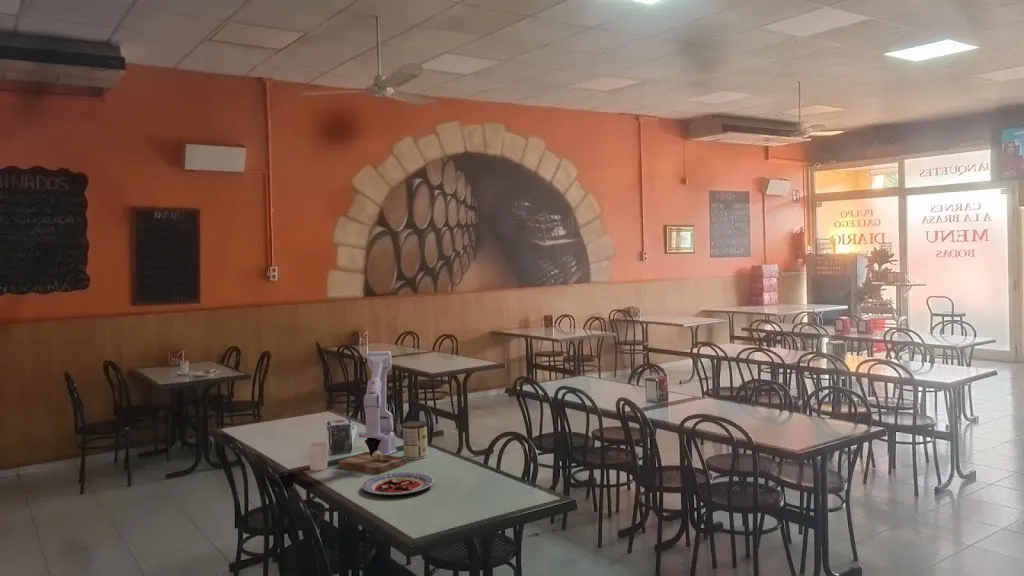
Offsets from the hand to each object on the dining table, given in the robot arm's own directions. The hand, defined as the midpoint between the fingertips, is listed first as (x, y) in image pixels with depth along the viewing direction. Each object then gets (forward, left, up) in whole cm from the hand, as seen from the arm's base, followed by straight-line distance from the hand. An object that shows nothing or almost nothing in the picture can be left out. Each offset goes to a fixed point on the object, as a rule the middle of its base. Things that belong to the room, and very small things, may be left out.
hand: (373, 456), depth 306 cm
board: (-1, -1, -4) cm, 4 cm away
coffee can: (-20, +6, -4) cm, 21 cm away
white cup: (+12, -18, -4) cm, 23 cm away
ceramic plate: (+17, +28, -4) cm, 33 cm away
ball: (0, +1, 0) cm, 2 cm away
